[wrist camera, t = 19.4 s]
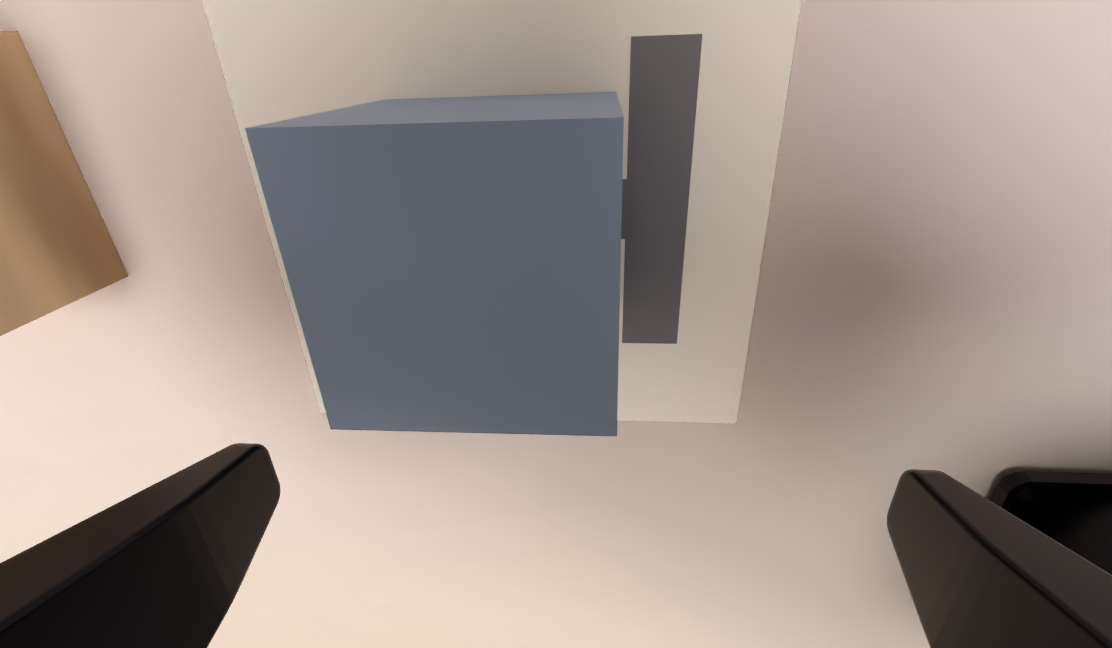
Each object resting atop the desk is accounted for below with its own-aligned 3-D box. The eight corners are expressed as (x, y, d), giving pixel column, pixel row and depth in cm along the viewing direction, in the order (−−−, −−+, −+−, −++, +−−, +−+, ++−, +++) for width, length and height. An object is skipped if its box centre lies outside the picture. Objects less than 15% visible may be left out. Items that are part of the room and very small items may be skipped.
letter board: (810, -125, 10) (822, -135, 9) (731, 410, 15) (736, 423, 15) (196, -87, 11) (174, -95, 10) (329, 401, 16) (320, 413, 16)
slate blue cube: (616, 91, 11) (623, 117, 7) (612, 308, 13) (616, 436, 9) (384, 99, 11) (244, 128, 7) (419, 307, 14) (330, 429, 9)
